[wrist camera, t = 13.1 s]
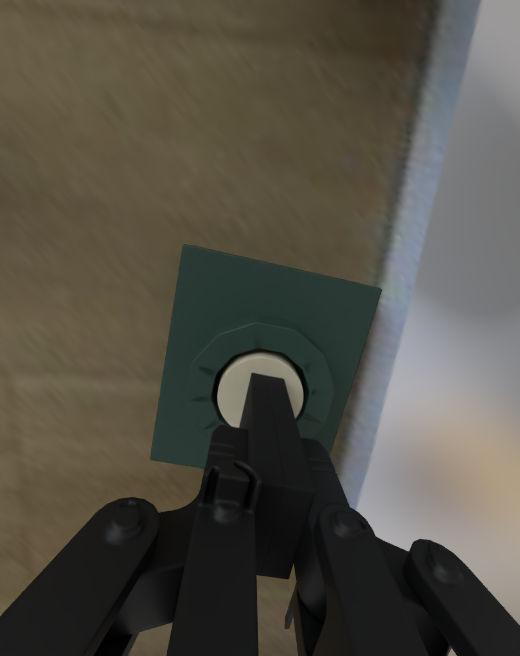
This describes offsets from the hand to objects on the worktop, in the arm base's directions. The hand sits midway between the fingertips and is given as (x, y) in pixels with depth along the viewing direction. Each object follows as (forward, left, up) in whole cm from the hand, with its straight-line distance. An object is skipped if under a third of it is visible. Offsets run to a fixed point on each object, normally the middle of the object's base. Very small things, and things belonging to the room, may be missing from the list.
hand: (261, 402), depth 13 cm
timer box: (0, 0, -5) cm, 5 cm away
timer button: (0, 0, -2) cm, 2 cm away
